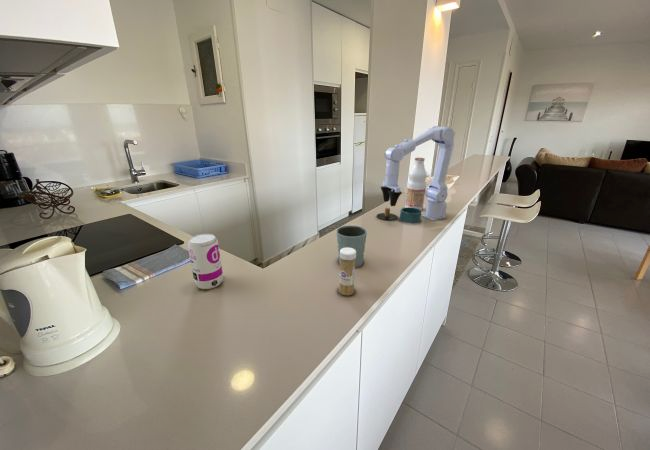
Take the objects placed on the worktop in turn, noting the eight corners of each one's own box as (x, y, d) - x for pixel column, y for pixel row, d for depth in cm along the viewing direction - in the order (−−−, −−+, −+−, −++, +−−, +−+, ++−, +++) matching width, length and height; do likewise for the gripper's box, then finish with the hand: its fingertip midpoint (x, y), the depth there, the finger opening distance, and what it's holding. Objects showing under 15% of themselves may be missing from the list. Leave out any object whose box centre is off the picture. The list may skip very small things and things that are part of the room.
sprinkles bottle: (336, 294, 80) (337, 252, 75) (341, 285, 84) (342, 245, 79) (351, 297, 78) (353, 255, 74) (356, 289, 82) (358, 248, 77)
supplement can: (229, 278, 88) (223, 234, 82) (211, 292, 80) (203, 246, 75) (208, 273, 90) (201, 231, 85) (189, 287, 83) (179, 242, 78)
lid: (388, 213, 147) (389, 204, 145) (401, 219, 138) (402, 210, 137) (372, 216, 143) (373, 207, 141) (384, 222, 134) (385, 213, 132)
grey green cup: (370, 261, 98) (372, 230, 94) (353, 272, 91) (354, 239, 87) (348, 252, 104) (349, 223, 100) (330, 262, 98) (330, 230, 93)
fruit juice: (401, 208, 155) (407, 158, 145) (410, 205, 161) (416, 156, 151) (417, 212, 149) (423, 159, 139) (425, 209, 155) (432, 158, 145)
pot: (410, 216, 143) (411, 206, 141) (424, 222, 135) (426, 212, 133) (395, 219, 139) (396, 208, 137) (408, 225, 131) (410, 214, 129)
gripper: (377, 172, 132) (375, 199, 137) (390, 178, 118) (387, 208, 123) (391, 171, 133) (389, 199, 138) (405, 177, 120) (402, 207, 125)
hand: (389, 203), depth 131 cm, fingers open, 7 cm apart
